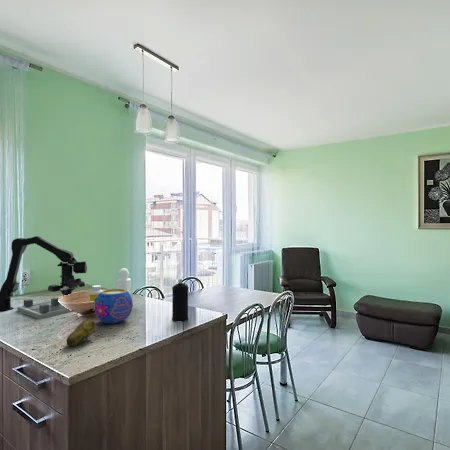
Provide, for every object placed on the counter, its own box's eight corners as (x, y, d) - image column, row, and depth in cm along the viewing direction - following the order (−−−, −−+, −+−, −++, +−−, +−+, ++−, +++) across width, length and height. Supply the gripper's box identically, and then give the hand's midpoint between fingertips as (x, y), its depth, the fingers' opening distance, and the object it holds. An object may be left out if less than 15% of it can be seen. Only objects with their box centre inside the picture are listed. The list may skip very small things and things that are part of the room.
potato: (59, 344, 123) (59, 324, 123) (90, 335, 133) (90, 316, 133) (69, 350, 118) (69, 329, 118) (101, 340, 128) (101, 320, 128)
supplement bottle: (98, 311, 169) (98, 287, 169) (87, 310, 170) (87, 286, 170) (105, 307, 175) (105, 285, 175) (94, 307, 177) (94, 284, 177)
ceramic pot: (122, 314, 163) (122, 285, 163) (139, 322, 150) (139, 291, 150) (88, 321, 151) (88, 290, 151) (103, 331, 138) (103, 297, 138)
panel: (17, 310, 169) (17, 300, 169) (51, 303, 183) (51, 294, 183) (39, 319, 154) (39, 308, 154) (74, 310, 169) (74, 300, 169)
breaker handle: (51, 304, 173) (50, 298, 173) (56, 303, 175) (56, 297, 175) (54, 305, 171) (54, 299, 171) (59, 304, 173) (59, 298, 173)
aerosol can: (191, 317, 157) (191, 278, 157) (182, 322, 150) (182, 281, 150) (177, 315, 161) (177, 277, 161) (168, 320, 153) (168, 279, 153)
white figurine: (131, 305, 181) (131, 267, 181) (126, 308, 174) (126, 269, 174) (120, 304, 182) (120, 267, 181) (115, 307, 175) (115, 268, 175)
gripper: (57, 277, 166) (57, 306, 166) (90, 273, 181) (90, 299, 181) (47, 275, 172) (47, 303, 173) (79, 271, 188) (79, 297, 188)
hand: (67, 300), depth 178 cm, fingers closed
